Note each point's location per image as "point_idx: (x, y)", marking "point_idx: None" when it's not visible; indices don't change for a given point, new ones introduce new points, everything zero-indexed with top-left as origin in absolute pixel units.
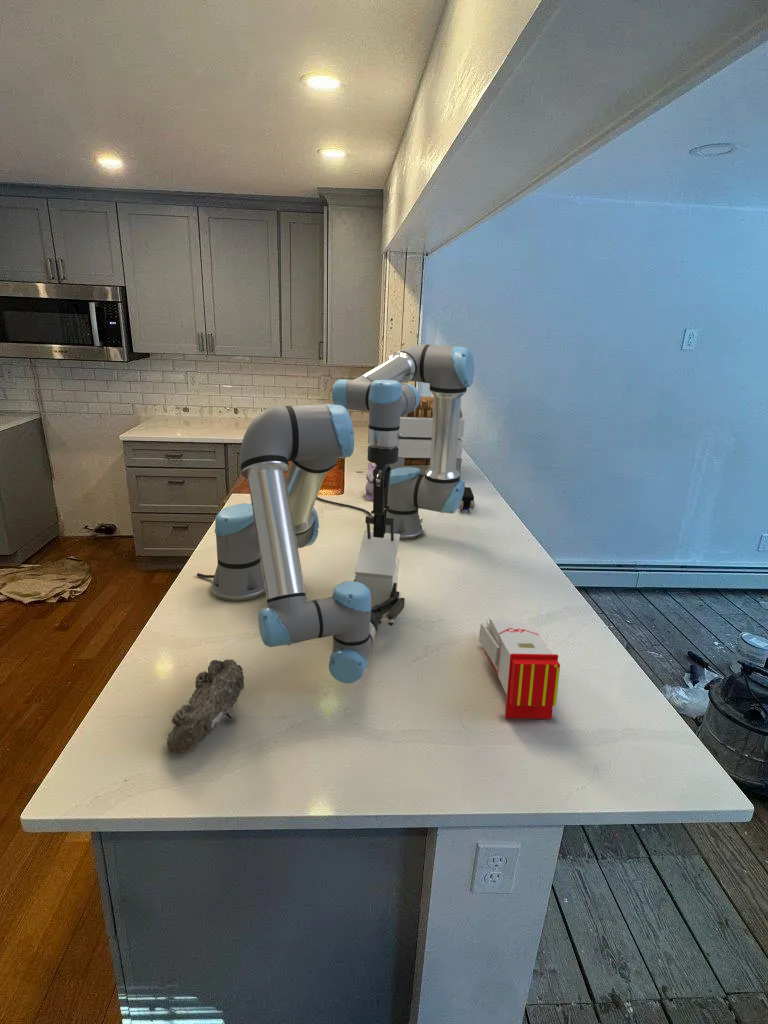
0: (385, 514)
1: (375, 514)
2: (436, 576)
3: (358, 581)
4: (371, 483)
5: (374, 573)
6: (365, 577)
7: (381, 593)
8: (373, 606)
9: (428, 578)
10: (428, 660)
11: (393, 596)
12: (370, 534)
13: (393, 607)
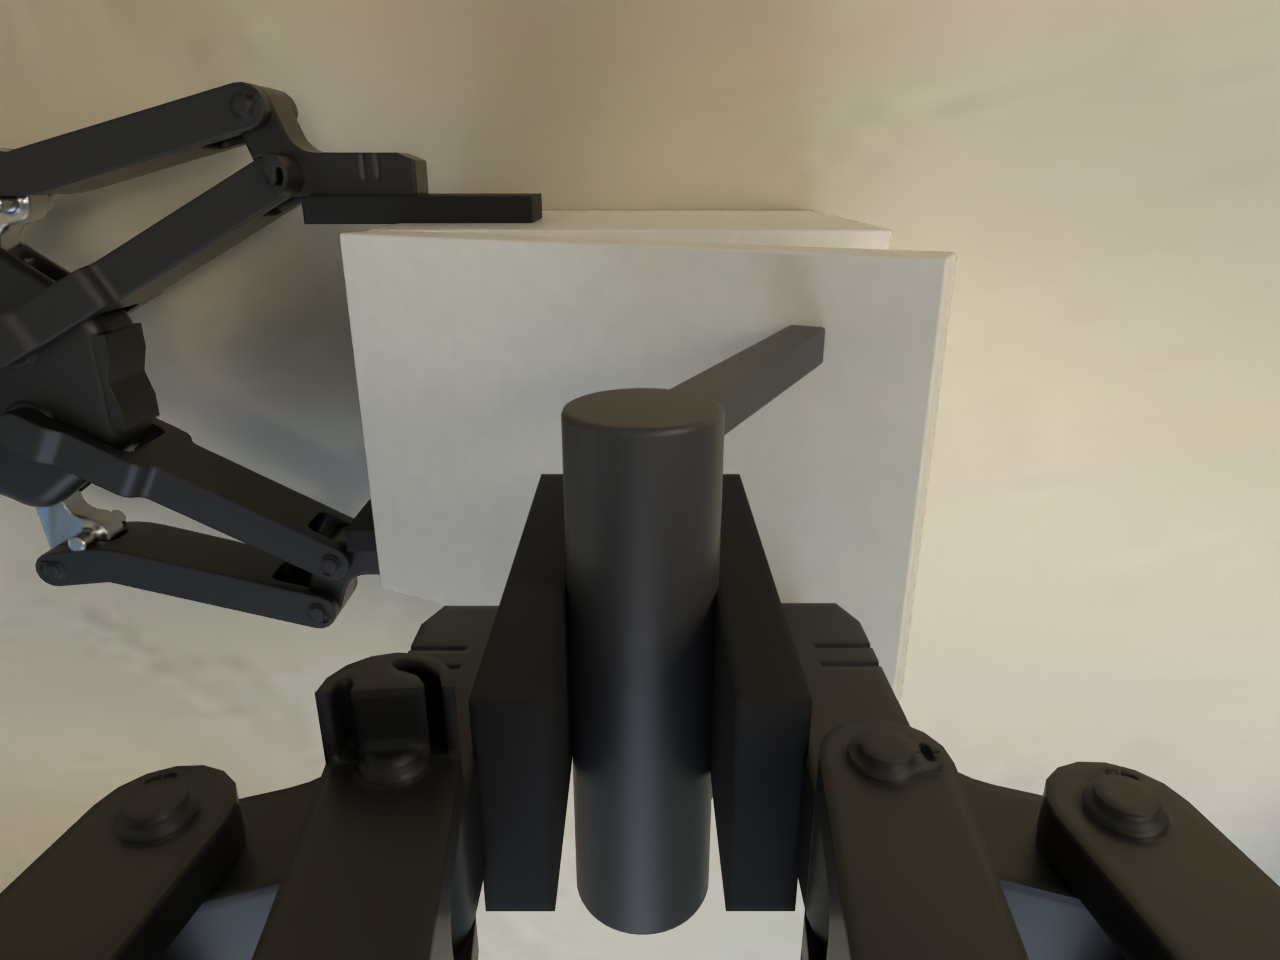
0: (717, 830)
1: (478, 712)
2: (1074, 662)
3: None
4: None
5: (364, 431)
6: None
7: None
8: (82, 443)
9: (1041, 619)
10: (126, 677)
11: (331, 550)
12: (801, 376)
13: (168, 571)
